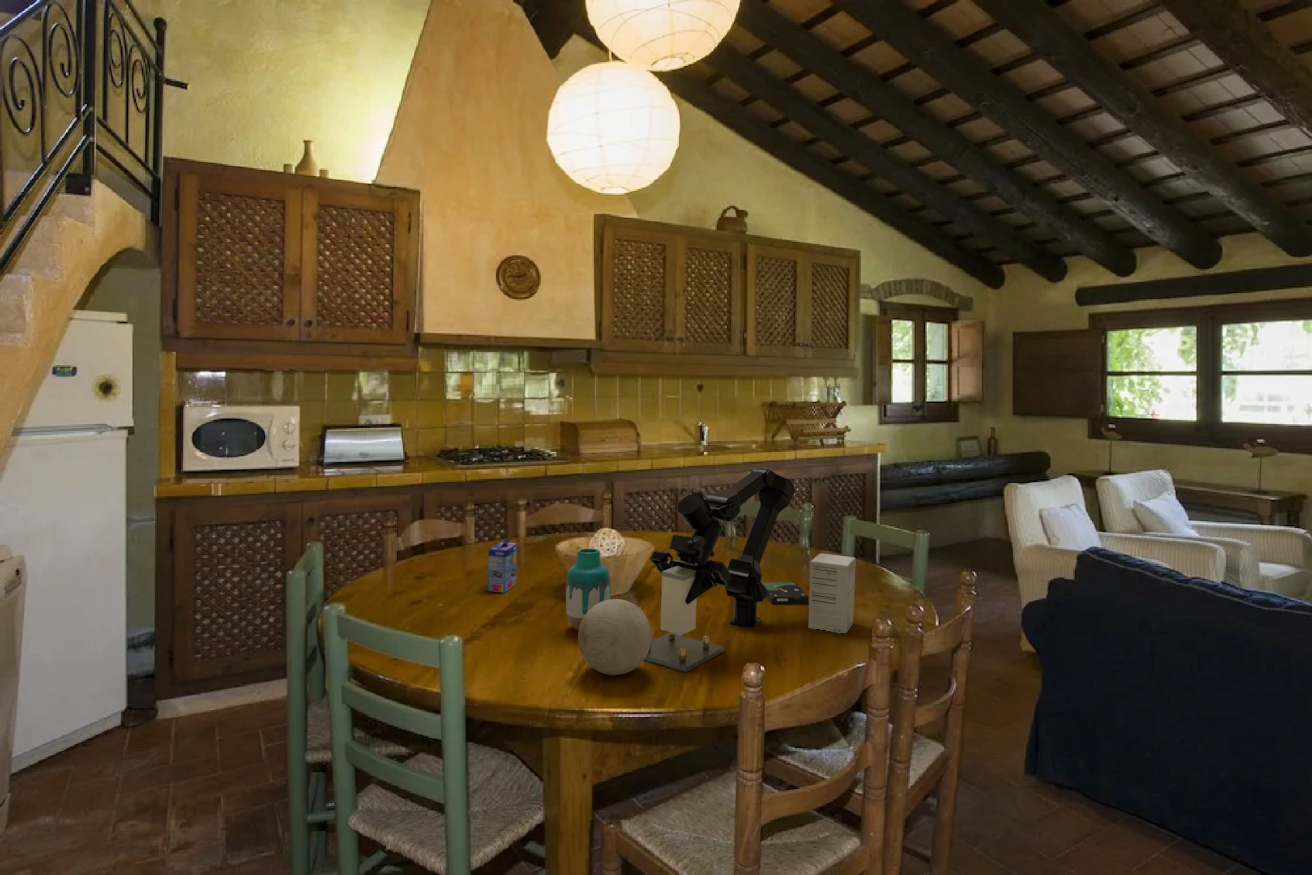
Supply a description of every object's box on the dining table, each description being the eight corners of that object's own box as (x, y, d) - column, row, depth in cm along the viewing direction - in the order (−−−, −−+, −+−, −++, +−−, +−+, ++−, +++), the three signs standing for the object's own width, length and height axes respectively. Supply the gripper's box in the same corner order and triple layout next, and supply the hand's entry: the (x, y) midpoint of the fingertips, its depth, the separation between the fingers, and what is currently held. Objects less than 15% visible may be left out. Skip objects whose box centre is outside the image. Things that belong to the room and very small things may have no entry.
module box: (675, 622, 169) (677, 565, 168) (695, 628, 166) (697, 570, 164) (660, 629, 165) (662, 571, 163) (680, 635, 161) (682, 576, 160)
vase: (557, 633, 178) (558, 553, 176) (577, 619, 187) (578, 543, 186) (598, 639, 174) (599, 557, 172) (617, 625, 184) (617, 547, 182)
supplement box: (817, 617, 192) (819, 552, 190) (853, 623, 188) (856, 556, 186) (807, 628, 183) (809, 560, 182) (845, 634, 179) (848, 565, 178)
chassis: (668, 636, 176) (668, 622, 176) (723, 651, 167) (724, 636, 167) (628, 655, 164) (628, 639, 164) (686, 672, 155) (686, 655, 155)
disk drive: (809, 606, 203) (794, 590, 218) (809, 596, 203) (795, 580, 217) (771, 607, 202) (759, 590, 217) (771, 596, 202) (759, 581, 217)
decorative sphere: (653, 686, 148) (654, 611, 147) (576, 687, 147) (577, 612, 146) (648, 657, 163) (649, 589, 162) (578, 659, 162) (578, 590, 160)
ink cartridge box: (505, 593, 209) (505, 541, 208) (486, 592, 210) (486, 540, 209) (518, 583, 219) (518, 534, 218) (500, 582, 220) (499, 533, 218)
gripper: (655, 515, 172) (624, 572, 164) (725, 525, 161) (696, 588, 153) (674, 543, 179) (645, 599, 171) (743, 555, 168) (716, 616, 160)
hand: (674, 600), depth 164 cm, fingers closed on module box, 6 cm apart
